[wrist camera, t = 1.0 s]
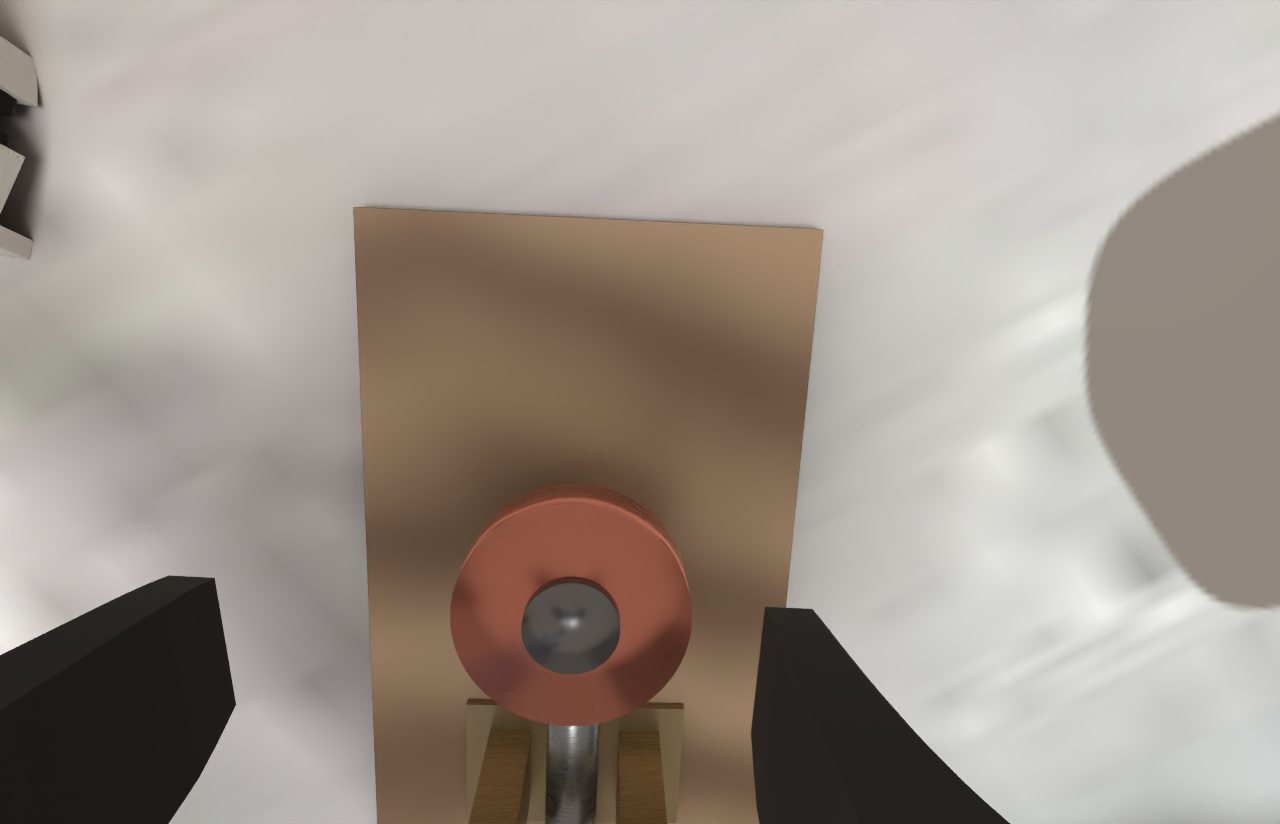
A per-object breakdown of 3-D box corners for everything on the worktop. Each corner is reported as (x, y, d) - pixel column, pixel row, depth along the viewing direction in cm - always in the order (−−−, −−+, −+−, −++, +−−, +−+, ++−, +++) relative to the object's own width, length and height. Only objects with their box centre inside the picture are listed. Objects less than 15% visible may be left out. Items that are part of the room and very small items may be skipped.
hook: (650, 918, 25) (660, 1109, 20) (486, 917, 25) (452, 1109, 19) (679, 440, 21) (702, 518, 16) (486, 434, 21) (444, 510, 16)
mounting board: (754, 851, 27) (759, 870, 26) (385, 845, 26) (379, 865, 25) (815, 229, 22) (823, 229, 21) (362, 207, 21) (352, 207, 20)
